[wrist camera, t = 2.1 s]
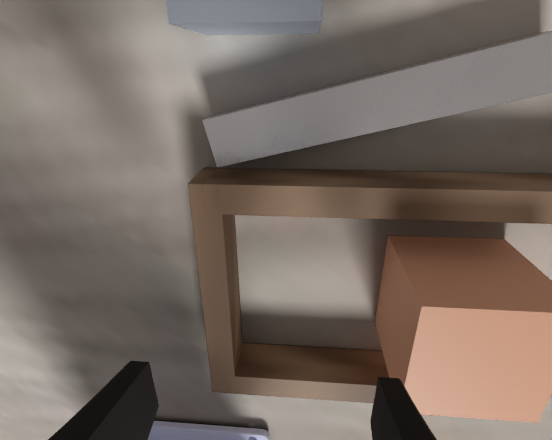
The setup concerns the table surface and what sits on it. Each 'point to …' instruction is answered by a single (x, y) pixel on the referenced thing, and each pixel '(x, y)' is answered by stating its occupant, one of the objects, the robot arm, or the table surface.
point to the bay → (333, 204)
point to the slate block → (246, 16)
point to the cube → (466, 327)
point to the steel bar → (385, 100)
